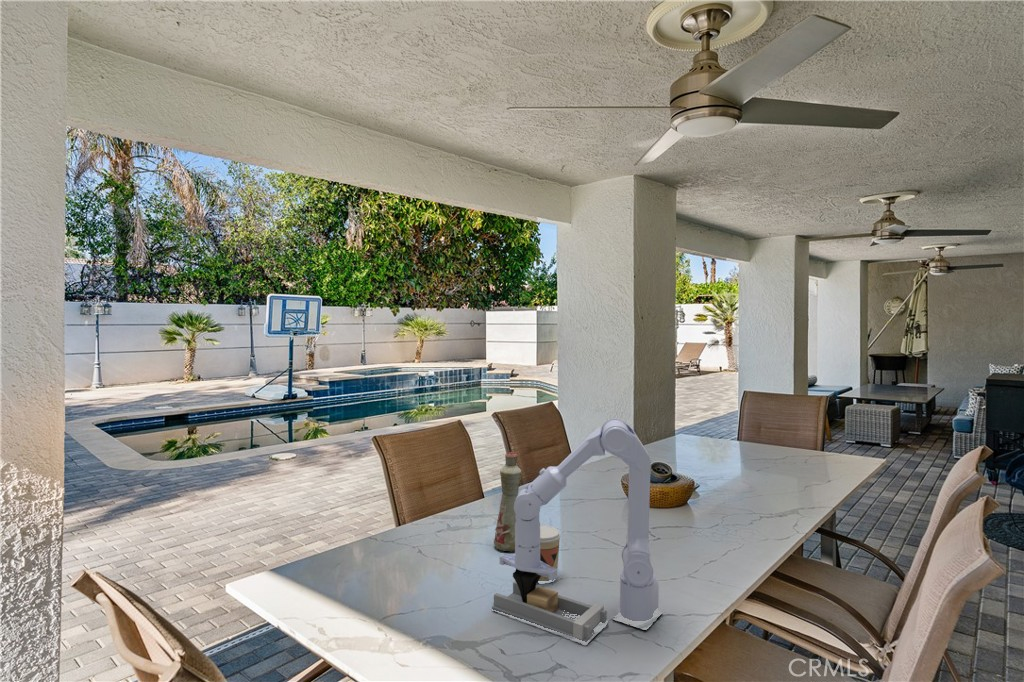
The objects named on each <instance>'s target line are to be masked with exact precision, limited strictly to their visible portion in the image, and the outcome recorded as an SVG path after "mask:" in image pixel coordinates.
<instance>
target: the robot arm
mask: <svg viewBox="0 0 1024 682" xmlns="http://www.w3.org/2000/svg"><path fill="white" fill-rule="evenodd" d="M606 452H607V453H609V454H611V455H612V456H615V457H617V458H619V459H621V460H622V461H623V462H624V463H625V464H626V465H627V466H628V493H627V496H628V497H627V498H628V499H627V527H626V528H627V529H626V531H627V533H626V542H625V545H624V547H623V548H622V551H621V558H622V563H623V564H622V565H623V571H622V572H621V573H620V578H619V579H620V581H619V612H620V613H621V615H622V616H623V617H624V618H627V619H629V620H632V621H646V620H649V619H651V618H652V617H653V613H654V611H655V610H656V609H657V608H658V609H659V597H660V596H659V588H660V587H659V582H658V579H657V578H656V577H655V575H654V567H653V564H652V561H651V553H650V542H649V534H650V532H649V531H650V504H651V503H650V500H651V499H650V498H651V497H650V494H651V467H652V466H651V465H652V464H651V462H652V461H651V457H650V453H649V452H648V451H647V449H646V448H645V446H644V445H643V443H642V441H641V440H640V438H639V437H638V435H637V433H636V432H635V431H634V429H633V428H632V426H630V425H629V424H627V423H626V422H625V421H623V420H621V419H620V418H610V419H609V420H607V421H605V422H604V423H603V425H602V427H601V426H599V427H597V428H595V430H593V431H592V432H591V433H590V434H589V435H588V436H586V437H585V439H584V440H582V441H581V443H579V445H577V446H576V447H575V449H573V451H571V452H570V453H569V454H568V456H567V457H565V458H564V460H562V461H561V463H559V464H558V465H557V466H551V465H550V466H548V467H547V468H545V467H543V468H542V469H540V471H539V475H538V476H537V477H536V478H535V479H534V480H533V481H531V482H530V483H526V484H525V485H524V488H523V489H521V490H520V491H518V496H517V498H516V500H515V502H514V511H515V514H516V523H515V551H514V555H512V554H508V553H503V554H501V555H500V556H499V565H502V566H504V565H505V566H509V567H513V568H515V571H514V572H513V573H512V578H513V579H514V582H515V581H516V583H517V585H518V587H519V590H520V593H521V597H522V601H523V602H524V603H527V594H529V593H530V592H531V591H533V590H534V589H535V588H537V585H538V584H537V583H538V581H539V579H540V577H541V576H544V577H547V578H549V580H552V581H553V580H554V579H556V580H557V578H558V568H557V569H555V568H553V567H551V566H549V565H547V564H545V563H544V562H542V561H540V526H541V522H540V512H541V507H542V506H546V505H547V504H549V503H550V501H552V500H553V499H554V498H555V497H556V496H557V495H558V494H559V493H560V492H562V490H563V489H565V488H566V487H567V478H569V476H571V474H572V473H574V472H575V471H576V470H578V469H579V468H580V467H582V465H583V464H585V463H586V462H587V461H588V460H590V459H591V458H592V457H595V456H596V457H597V456H606Z"/></svg>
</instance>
